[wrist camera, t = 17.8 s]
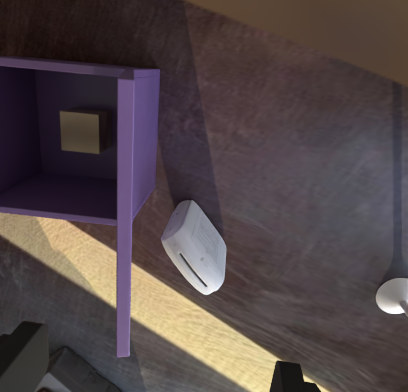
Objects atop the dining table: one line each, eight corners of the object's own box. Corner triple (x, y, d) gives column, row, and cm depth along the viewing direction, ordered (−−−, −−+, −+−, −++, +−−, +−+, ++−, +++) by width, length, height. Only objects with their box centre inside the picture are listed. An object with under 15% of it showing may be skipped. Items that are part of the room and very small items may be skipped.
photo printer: (168, 208, 54) (151, 246, 42) (191, 193, 53) (180, 228, 41) (207, 259, 56) (201, 308, 45) (230, 245, 55) (229, 292, 44)
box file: (40, 174, 54) (-25, 209, 40) (31, 57, 48) (-47, 52, 35) (155, 187, 53) (128, 227, 40) (160, 69, 47) (131, 69, 34)
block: (76, 106, 49) (59, 110, 44) (111, 110, 49) (98, 114, 44) (77, 142, 51) (61, 150, 46) (111, 146, 51) (99, 154, 46)
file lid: (116, 357, 22) (129, 356, 22) (117, 78, 16) (134, 79, 17) (123, 229, 39) (131, 228, 39) (125, 68, 33) (134, 69, 34)
